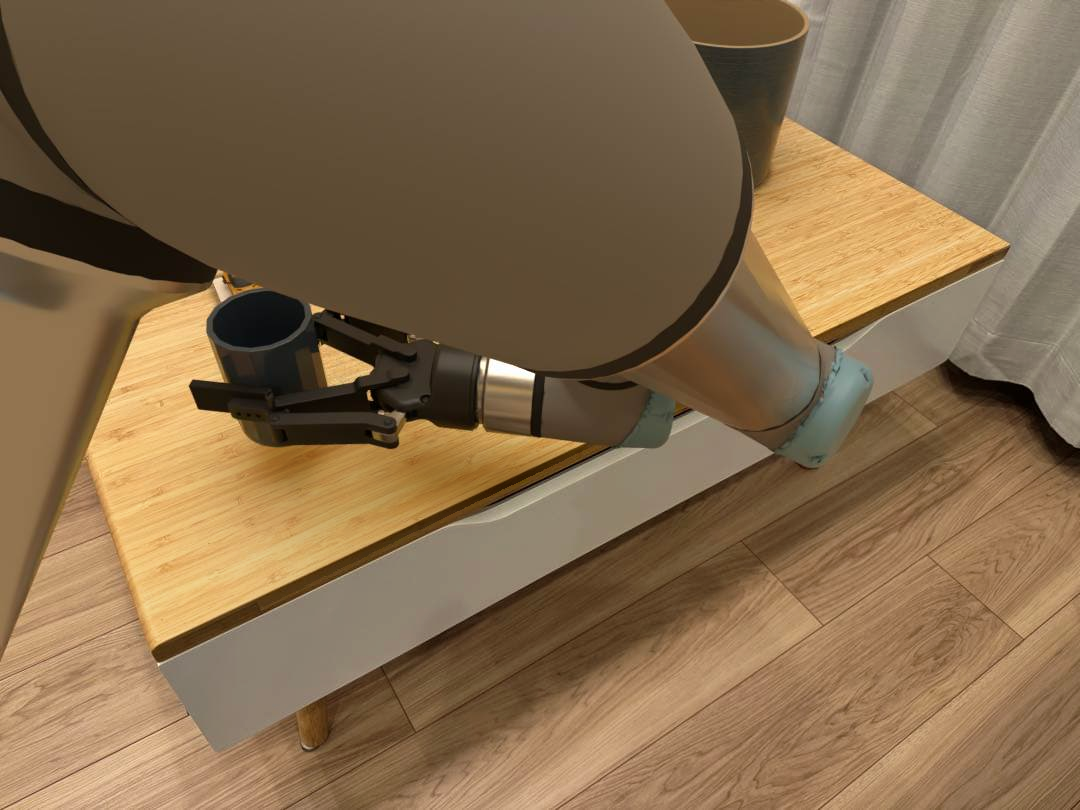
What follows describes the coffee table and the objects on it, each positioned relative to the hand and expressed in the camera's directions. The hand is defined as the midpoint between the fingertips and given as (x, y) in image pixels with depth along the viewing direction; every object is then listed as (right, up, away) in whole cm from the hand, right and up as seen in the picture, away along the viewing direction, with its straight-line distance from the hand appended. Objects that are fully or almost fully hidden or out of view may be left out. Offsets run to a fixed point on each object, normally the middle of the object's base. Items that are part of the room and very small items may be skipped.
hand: (217, 358), depth 65 cm
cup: (+5, -5, +4) cm, 8 cm away
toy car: (-6, +8, +23) cm, 25 cm away
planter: (+49, +31, +47) cm, 75 cm away
